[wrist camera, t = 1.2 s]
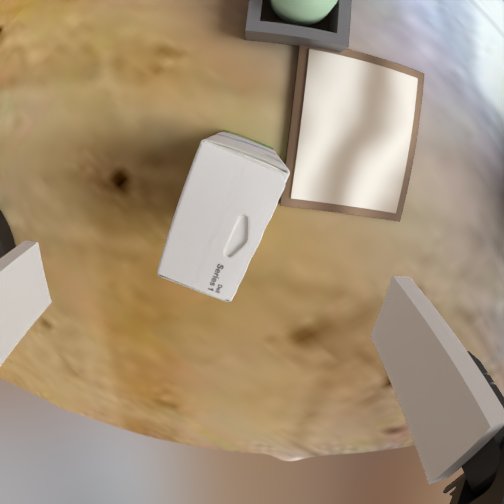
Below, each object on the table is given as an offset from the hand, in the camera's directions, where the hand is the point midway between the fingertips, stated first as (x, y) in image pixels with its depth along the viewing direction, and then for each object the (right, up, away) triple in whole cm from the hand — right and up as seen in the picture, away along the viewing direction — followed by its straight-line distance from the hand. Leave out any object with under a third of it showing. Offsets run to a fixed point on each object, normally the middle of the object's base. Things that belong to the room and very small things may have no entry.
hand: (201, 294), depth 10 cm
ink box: (0, +8, +17) cm, 18 cm away
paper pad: (+11, +12, +14) cm, 22 cm away
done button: (+6, +22, +8) cm, 24 cm away
